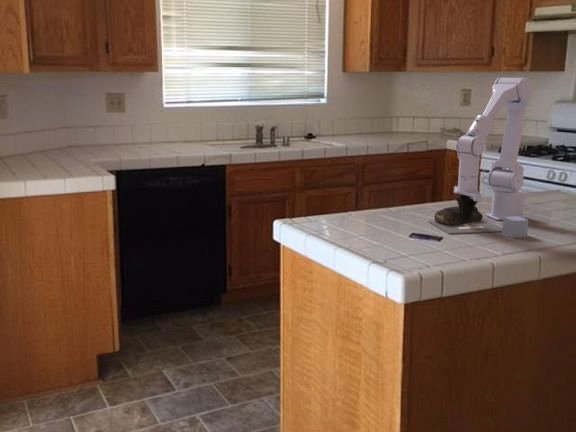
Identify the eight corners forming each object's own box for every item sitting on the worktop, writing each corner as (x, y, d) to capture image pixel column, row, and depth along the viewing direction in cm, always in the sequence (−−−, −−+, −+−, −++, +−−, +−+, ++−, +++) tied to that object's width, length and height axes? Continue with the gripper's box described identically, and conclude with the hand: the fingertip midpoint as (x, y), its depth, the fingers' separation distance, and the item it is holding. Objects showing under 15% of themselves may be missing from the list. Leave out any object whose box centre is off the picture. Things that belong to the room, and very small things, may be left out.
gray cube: (517, 233, 187) (519, 216, 185) (526, 237, 182) (528, 220, 181) (501, 233, 186) (503, 217, 185) (510, 238, 181) (512, 220, 180)
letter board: (482, 219, 203) (482, 218, 203) (507, 231, 188) (507, 230, 187) (428, 221, 200) (428, 220, 200) (449, 234, 185) (449, 232, 184)
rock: (430, 221, 198) (431, 208, 197) (466, 216, 206) (467, 203, 205) (449, 226, 192) (450, 212, 191) (485, 220, 200) (486, 207, 199)
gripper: (445, 172, 198) (443, 215, 201) (466, 180, 184) (463, 226, 187) (467, 172, 199) (464, 214, 202) (489, 179, 185) (486, 225, 188)
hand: (465, 220), depth 194 cm, fingers closed
